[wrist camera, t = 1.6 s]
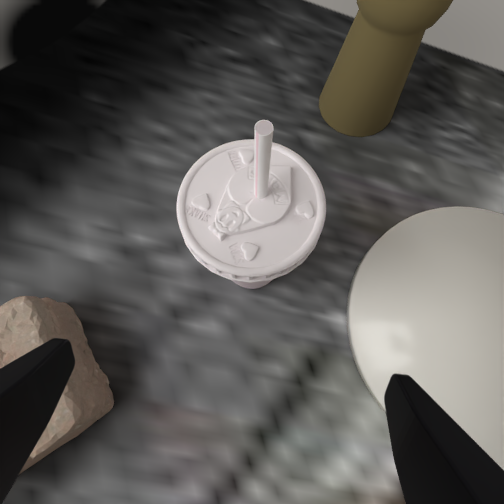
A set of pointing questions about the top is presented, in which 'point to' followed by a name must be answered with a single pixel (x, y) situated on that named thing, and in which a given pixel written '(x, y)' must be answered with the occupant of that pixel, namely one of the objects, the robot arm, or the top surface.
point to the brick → (81, 380)
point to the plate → (437, 316)
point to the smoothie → (251, 209)
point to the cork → (376, 63)
